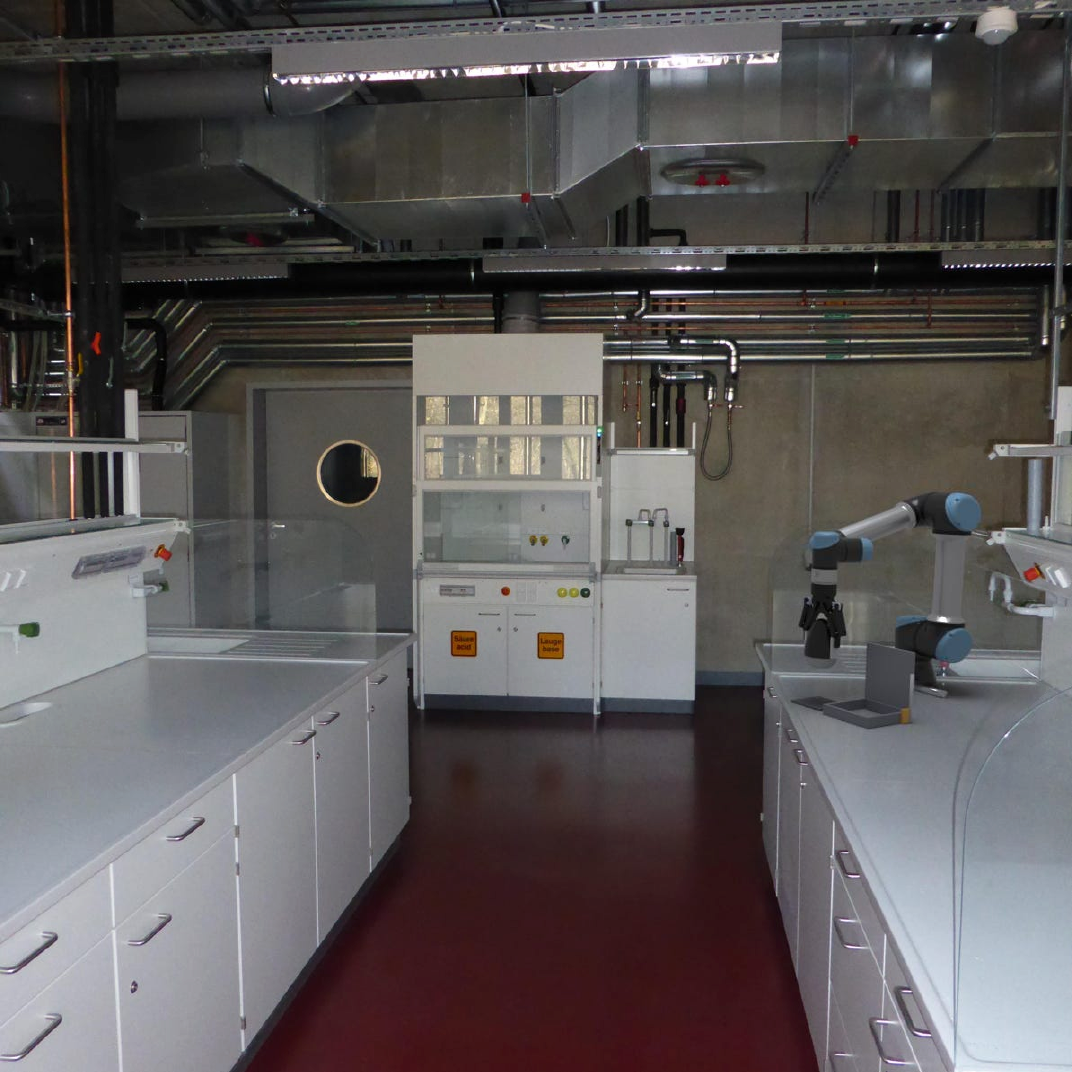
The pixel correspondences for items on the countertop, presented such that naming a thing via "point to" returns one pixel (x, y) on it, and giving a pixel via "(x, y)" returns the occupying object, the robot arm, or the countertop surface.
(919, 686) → the rod
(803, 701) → the pad
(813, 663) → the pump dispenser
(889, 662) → the case
